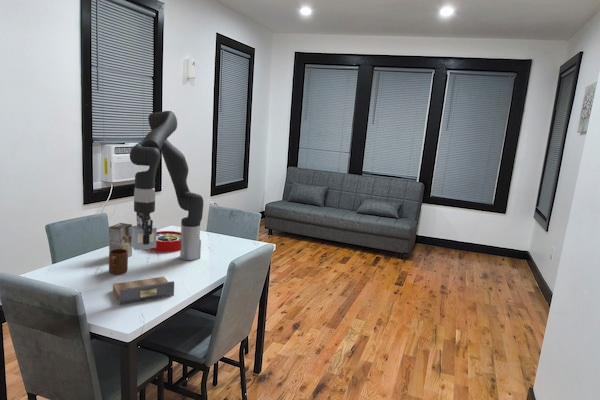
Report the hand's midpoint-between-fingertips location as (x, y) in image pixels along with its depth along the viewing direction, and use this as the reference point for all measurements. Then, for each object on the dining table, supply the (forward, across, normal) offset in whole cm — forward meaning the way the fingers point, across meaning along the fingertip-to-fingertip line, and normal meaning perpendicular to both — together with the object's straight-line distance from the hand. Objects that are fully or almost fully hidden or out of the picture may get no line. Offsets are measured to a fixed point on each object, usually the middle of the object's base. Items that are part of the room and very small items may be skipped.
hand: (143, 241), depth 156 cm
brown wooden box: (+21, 0, 0) cm, 21 cm away
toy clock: (+22, -53, +26) cm, 63 cm away
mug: (+21, -24, -5) cm, 33 cm away
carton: (+2, 0, 0) cm, 2 cm away
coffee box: (+21, -44, +1) cm, 49 cm away
